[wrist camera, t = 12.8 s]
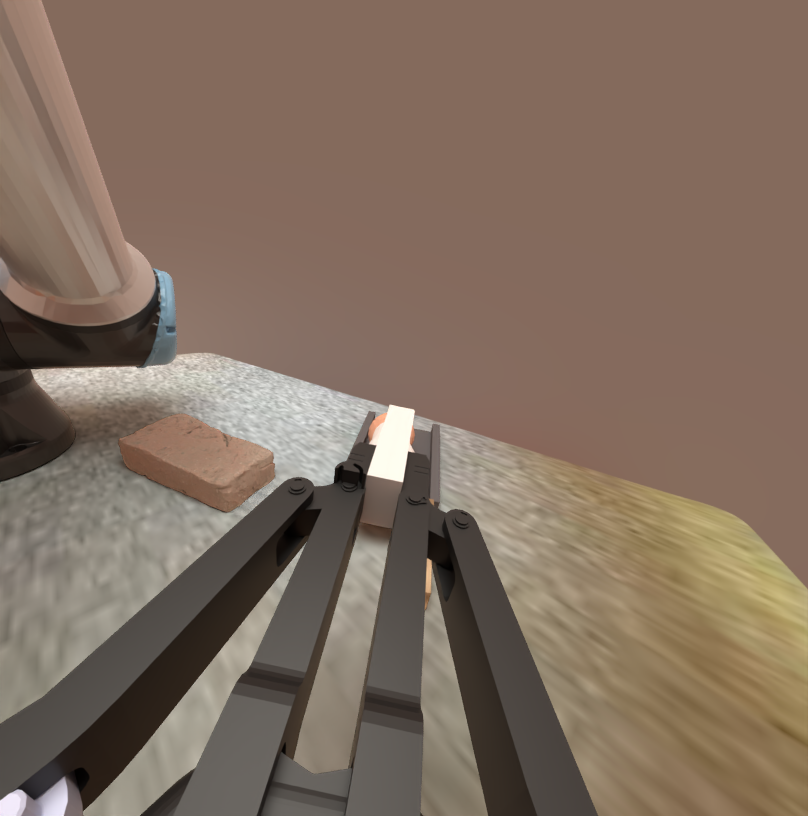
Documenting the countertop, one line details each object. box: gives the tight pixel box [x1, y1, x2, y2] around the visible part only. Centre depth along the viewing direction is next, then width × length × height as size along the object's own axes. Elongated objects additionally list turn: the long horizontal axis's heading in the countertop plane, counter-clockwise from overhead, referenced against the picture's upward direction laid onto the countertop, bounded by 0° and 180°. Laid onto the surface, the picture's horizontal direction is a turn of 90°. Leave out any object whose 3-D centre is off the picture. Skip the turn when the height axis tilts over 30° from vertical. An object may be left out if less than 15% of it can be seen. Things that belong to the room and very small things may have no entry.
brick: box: [118, 414, 275, 512], centre depth 40 cm, size 16×8×5 cm, turn 70°
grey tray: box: [347, 411, 440, 509], centre depth 49 cm, size 20×13×2 cm, turn 174°
